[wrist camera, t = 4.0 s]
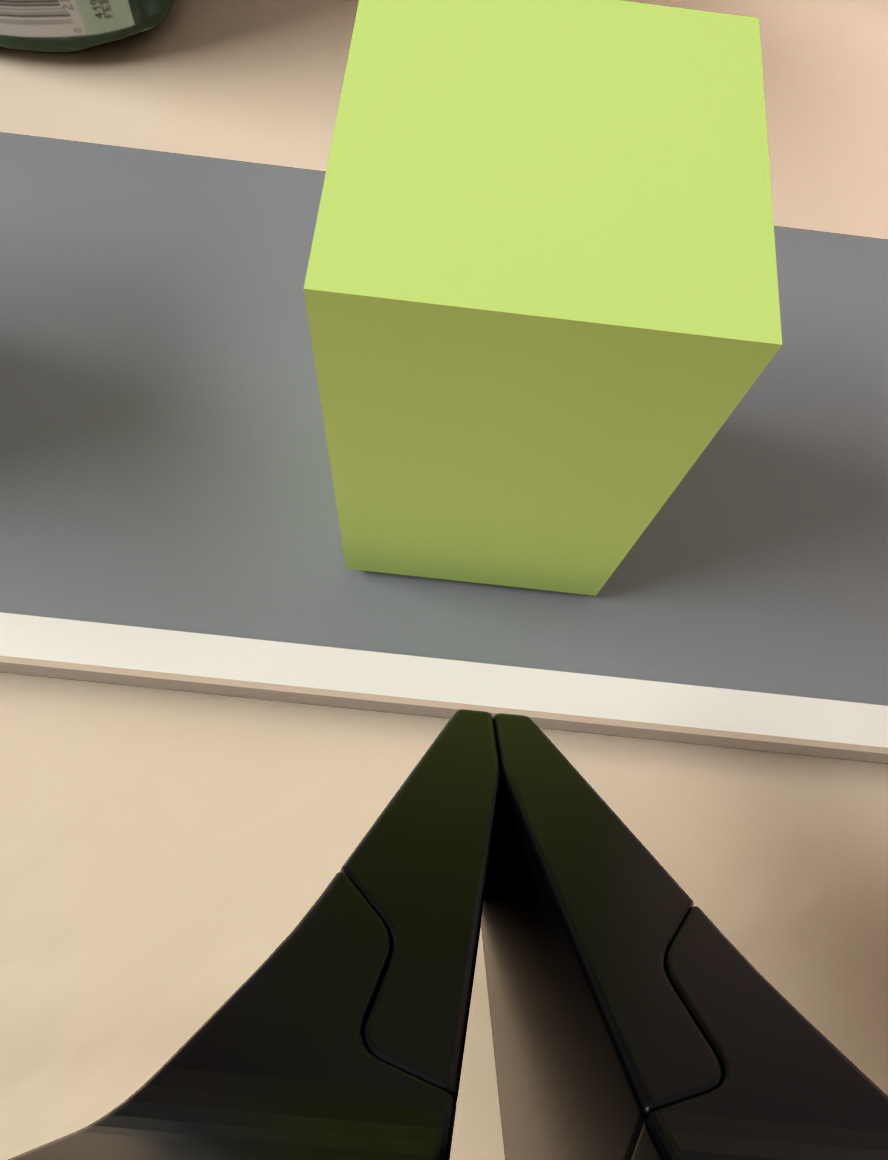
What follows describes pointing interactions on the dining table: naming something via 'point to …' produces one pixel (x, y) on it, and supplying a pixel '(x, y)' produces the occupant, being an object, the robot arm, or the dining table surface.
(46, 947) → the dining table surface
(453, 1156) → the dining table surface
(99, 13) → the coffee jar
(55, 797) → the dining table surface
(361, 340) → the green block
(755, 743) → the slate board
